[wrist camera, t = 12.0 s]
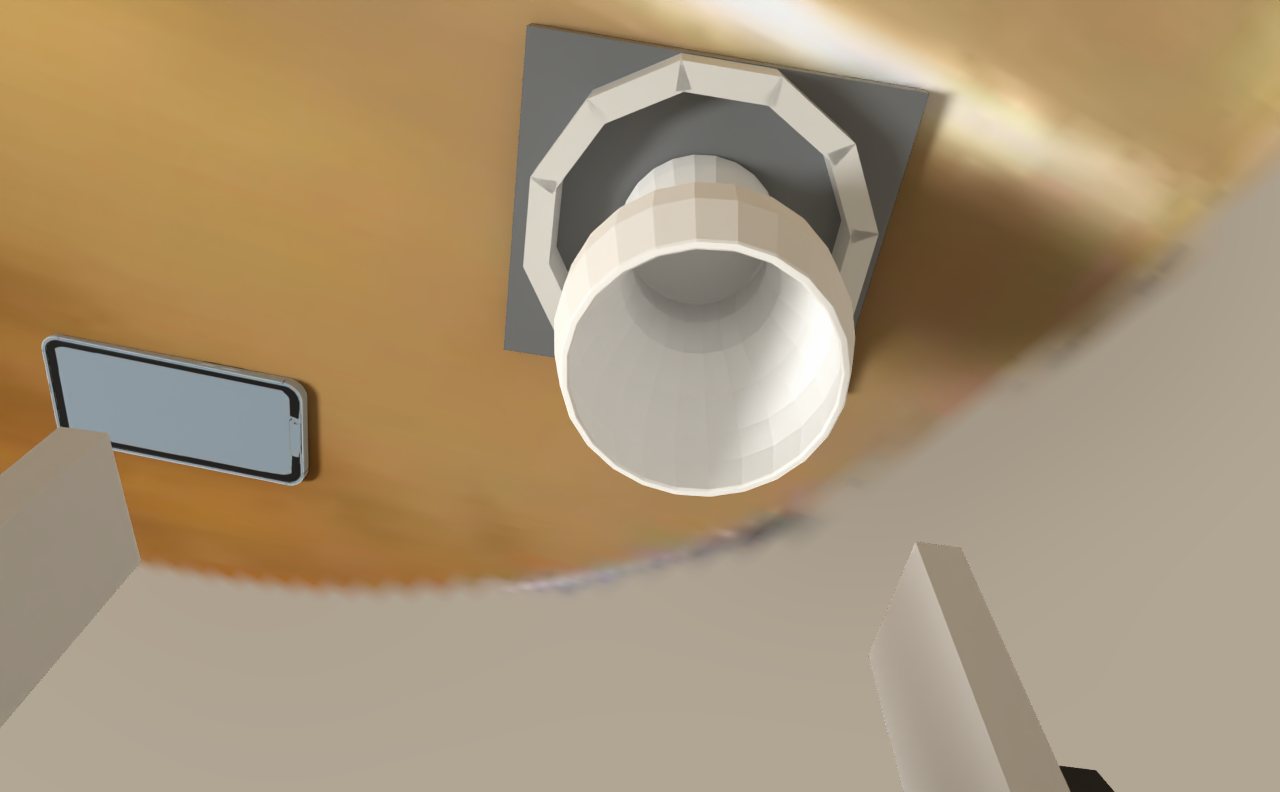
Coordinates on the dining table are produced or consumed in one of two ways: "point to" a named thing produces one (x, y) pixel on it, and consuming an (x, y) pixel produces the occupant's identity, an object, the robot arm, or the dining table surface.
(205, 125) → the dining table surface
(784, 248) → the cup
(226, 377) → the smartphone
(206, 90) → the dining table surface
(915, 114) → the holder tray
